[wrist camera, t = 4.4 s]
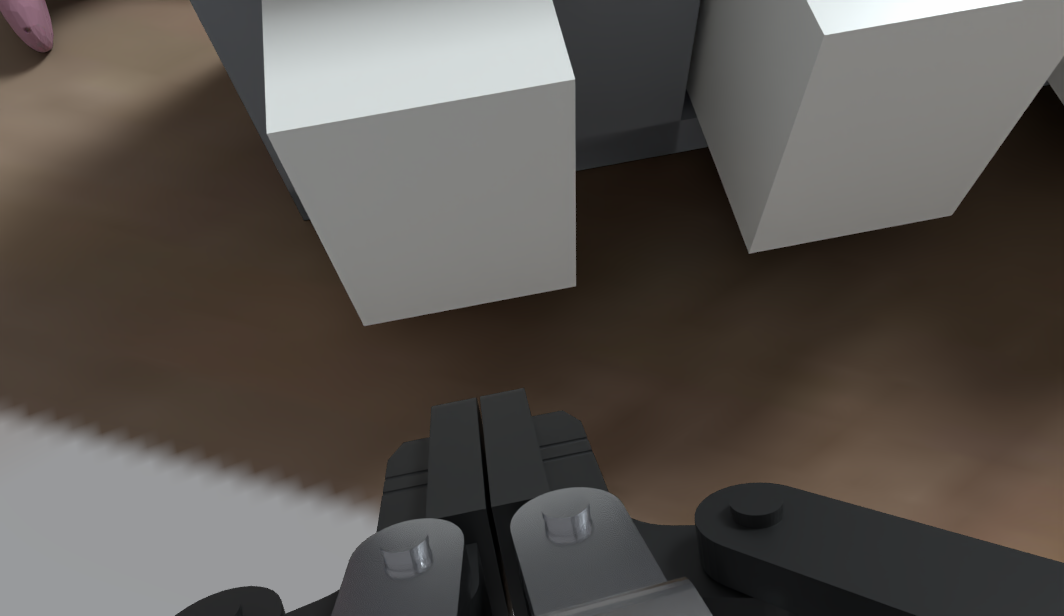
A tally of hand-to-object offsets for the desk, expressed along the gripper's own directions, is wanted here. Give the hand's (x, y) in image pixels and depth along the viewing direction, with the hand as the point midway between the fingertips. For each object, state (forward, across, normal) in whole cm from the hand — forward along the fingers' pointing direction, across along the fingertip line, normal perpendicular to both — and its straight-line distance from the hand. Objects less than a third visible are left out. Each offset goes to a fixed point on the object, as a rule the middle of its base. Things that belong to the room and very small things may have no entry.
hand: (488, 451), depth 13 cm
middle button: (+13, -11, -3) cm, 17 cm away
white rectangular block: (+13, 0, -3) cm, 13 cm away
